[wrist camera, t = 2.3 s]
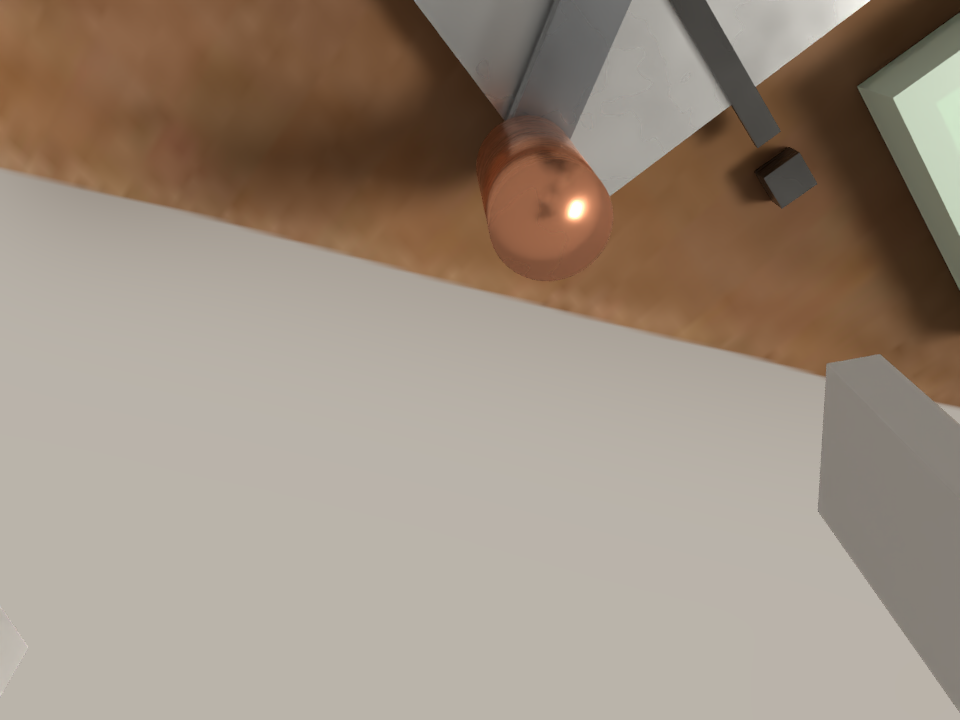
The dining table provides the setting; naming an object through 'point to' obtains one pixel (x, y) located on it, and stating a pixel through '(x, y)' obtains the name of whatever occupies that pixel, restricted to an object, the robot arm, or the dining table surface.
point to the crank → (551, 151)
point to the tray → (925, 129)
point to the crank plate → (653, 73)
